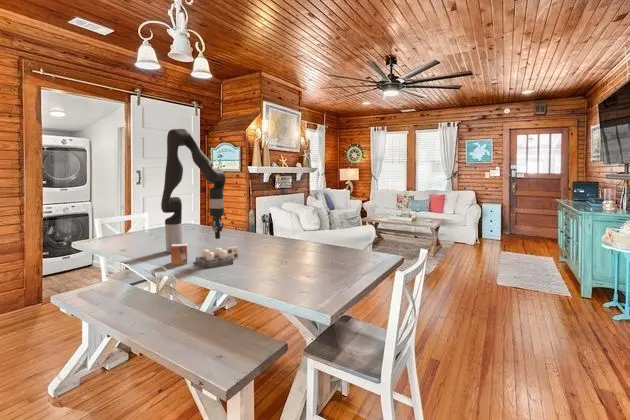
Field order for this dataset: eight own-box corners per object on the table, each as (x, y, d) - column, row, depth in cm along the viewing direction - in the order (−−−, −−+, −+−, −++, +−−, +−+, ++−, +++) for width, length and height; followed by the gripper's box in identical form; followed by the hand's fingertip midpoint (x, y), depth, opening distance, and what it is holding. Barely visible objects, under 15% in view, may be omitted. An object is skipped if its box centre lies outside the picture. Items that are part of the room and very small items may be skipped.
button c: (200, 258, 183) (200, 250, 183) (207, 257, 186) (207, 249, 185) (203, 259, 180) (202, 251, 180) (210, 258, 182) (210, 250, 182)
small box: (171, 266, 178) (170, 246, 176) (172, 263, 183) (171, 243, 182) (187, 265, 180) (186, 245, 179) (188, 262, 185) (187, 243, 184)
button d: (213, 256, 187) (213, 248, 187) (220, 255, 190) (220, 247, 189) (216, 257, 184) (215, 249, 184) (222, 256, 187) (222, 248, 186)
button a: (205, 261, 178) (205, 252, 177) (212, 259, 180) (212, 251, 179) (207, 262, 175) (207, 254, 174) (215, 261, 177) (214, 253, 176)
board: (195, 262, 184) (195, 257, 184) (222, 258, 193) (222, 253, 193) (205, 269, 172) (205, 263, 172) (233, 264, 181) (233, 259, 181)
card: (225, 259, 191) (224, 247, 190) (236, 257, 195) (236, 245, 195) (227, 260, 189) (227, 248, 188) (239, 258, 193) (238, 246, 192)
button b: (218, 259, 182) (218, 251, 181) (225, 257, 184) (224, 250, 184) (221, 260, 179) (220, 252, 178) (227, 259, 181) (227, 251, 181)
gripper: (205, 206, 187) (206, 237, 189) (214, 208, 176) (215, 241, 178) (218, 205, 191) (219, 235, 193) (228, 207, 181) (228, 239, 183)
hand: (217, 238), depth 186 cm, fingers closed
